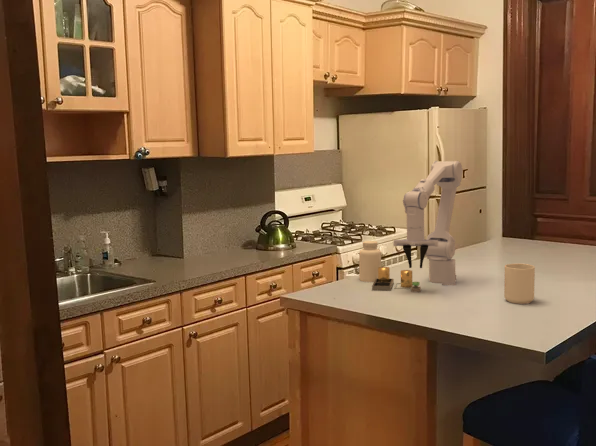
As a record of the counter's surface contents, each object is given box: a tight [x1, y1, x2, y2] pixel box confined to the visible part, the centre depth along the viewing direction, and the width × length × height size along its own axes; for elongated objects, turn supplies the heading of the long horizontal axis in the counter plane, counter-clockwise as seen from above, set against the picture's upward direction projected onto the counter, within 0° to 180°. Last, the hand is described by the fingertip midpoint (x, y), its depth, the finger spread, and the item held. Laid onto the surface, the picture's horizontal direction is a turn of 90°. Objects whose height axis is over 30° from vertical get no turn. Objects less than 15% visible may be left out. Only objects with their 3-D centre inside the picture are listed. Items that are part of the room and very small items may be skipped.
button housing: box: [410, 286, 422, 293], centre depth 214 cm, size 3×3×2 cm
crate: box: [371, 278, 395, 292], centre depth 222 cm, size 7×12×2 cm, turn 167°
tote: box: [393, 282, 420, 290], centre depth 221 cm, size 8×8×1 cm
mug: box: [503, 263, 536, 305], centre depth 201 cm, size 12×9×11 cm
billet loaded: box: [378, 266, 391, 282], centre depth 224 cm, size 4×4×6 cm
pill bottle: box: [358, 240, 382, 283], centre depth 233 cm, size 8×8×15 cm
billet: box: [400, 269, 413, 288], centre depth 221 cm, size 4×4×6 cm
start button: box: [412, 281, 420, 288], centre depth 214 cm, size 2×2×3 cm
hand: (415, 267), depth 213 cm, fingers open, 3 cm apart
